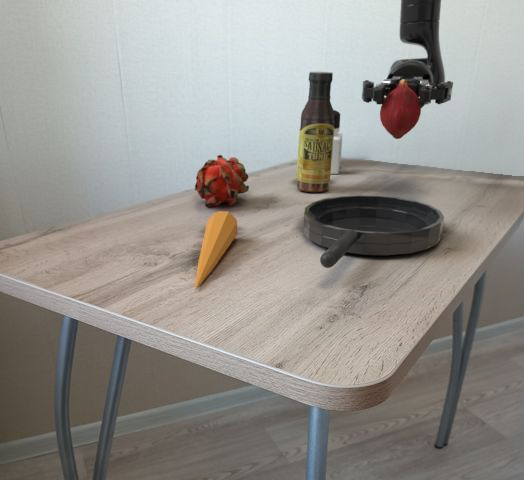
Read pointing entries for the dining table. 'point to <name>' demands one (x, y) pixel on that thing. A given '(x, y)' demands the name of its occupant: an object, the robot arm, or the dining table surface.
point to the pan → (374, 224)
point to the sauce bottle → (316, 136)
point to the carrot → (215, 242)
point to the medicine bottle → (336, 145)
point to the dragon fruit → (221, 181)
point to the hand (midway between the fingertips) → (401, 96)
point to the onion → (400, 110)
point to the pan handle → (339, 249)
